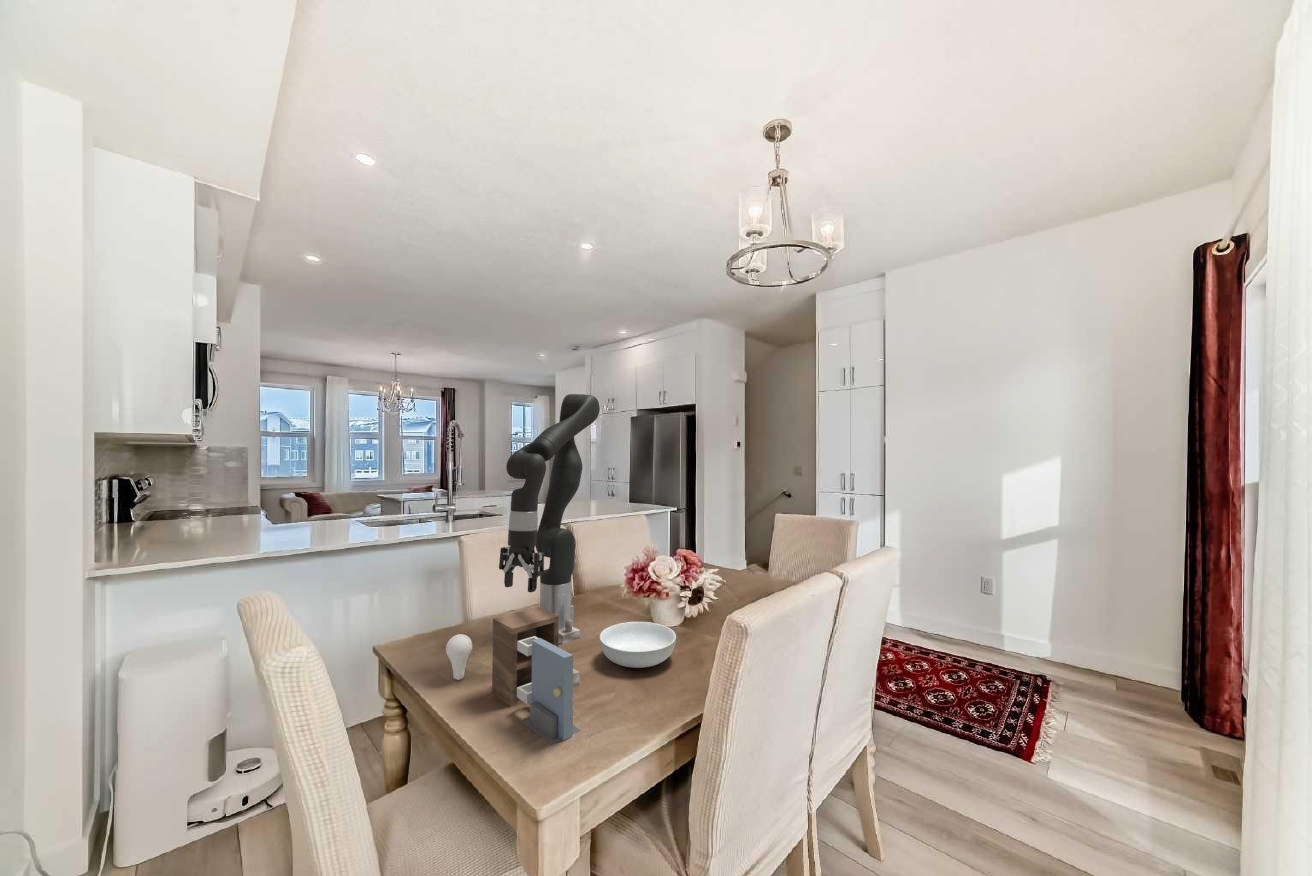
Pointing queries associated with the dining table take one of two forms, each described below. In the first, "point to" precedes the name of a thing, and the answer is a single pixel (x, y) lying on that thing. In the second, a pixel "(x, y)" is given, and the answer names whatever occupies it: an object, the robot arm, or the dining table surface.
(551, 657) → the cabinet door
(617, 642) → the serving bowl
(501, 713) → the dining table surface
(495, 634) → the cabinet
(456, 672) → the lightbulb
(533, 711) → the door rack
